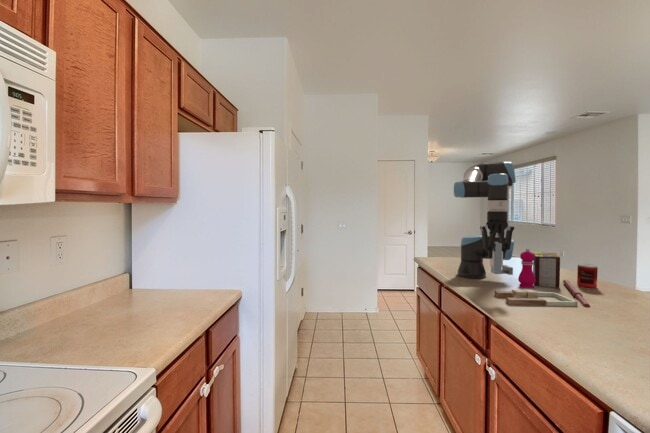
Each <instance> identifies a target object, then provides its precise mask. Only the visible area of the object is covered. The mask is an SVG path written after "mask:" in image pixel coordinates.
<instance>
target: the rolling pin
mask: <svg viewBox="0 0 650 433" xmlns="http://www.w3.org/2000/svg"><path fill="white" fill-rule="evenodd" d="M562 283H563V284H564V285H565V286H566V288H567V289H568V290H569V291H570V293H571V294H572V297H573V299H575V298H576V299H575V300H577V302H579V303H580V304H581V306H582V307H584V308H585V307H586V308H591V305H590V304H589V303H588V302H587V300H586V299H585V298H584V297H583V295H582V293H581V292H580V291H578V290H577V289H576V288H575V287H574V286H573V284H572V283H571V282H570V281H569V280H568V279H563V281H562Z"/></svg>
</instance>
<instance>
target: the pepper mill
mask: <svg viewBox="0 0 650 433" xmlns="http://www.w3.org/2000/svg"><path fill="white" fill-rule="evenodd" d="M519 257H520V260H521V262H520V263H521V266H522V267H521V271H520V272H519V275H518V278H517V280H518V282H519V285H518V287H519V288H520V289H521V288H522V289H534V288H535V285H534V283H535V282H536V279H535V276H534V274H533V260H534V259H535V256H534V252H531V249H530V248H525V251H522V252H521V253H520V256H519Z"/></svg>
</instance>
